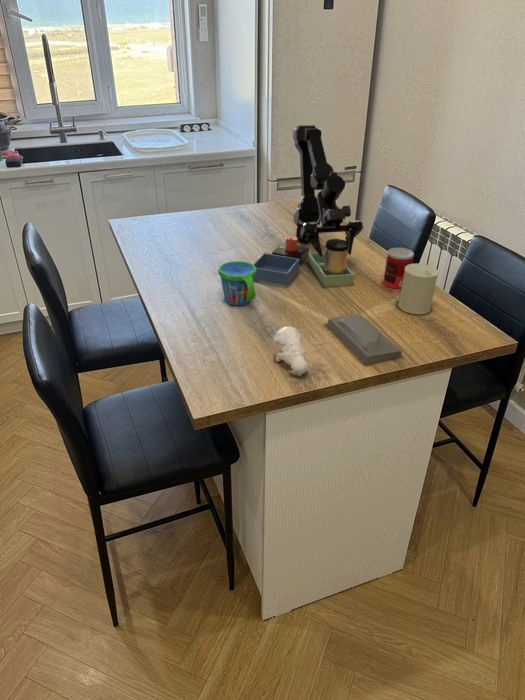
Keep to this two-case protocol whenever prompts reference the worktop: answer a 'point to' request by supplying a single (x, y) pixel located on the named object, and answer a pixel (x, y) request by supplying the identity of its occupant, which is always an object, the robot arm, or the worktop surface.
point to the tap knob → (291, 243)
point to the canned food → (396, 267)
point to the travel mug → (335, 257)
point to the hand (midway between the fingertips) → (335, 255)
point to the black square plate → (299, 253)
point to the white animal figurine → (291, 349)
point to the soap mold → (363, 339)
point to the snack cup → (238, 282)
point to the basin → (276, 269)
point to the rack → (318, 268)
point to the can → (417, 288)
